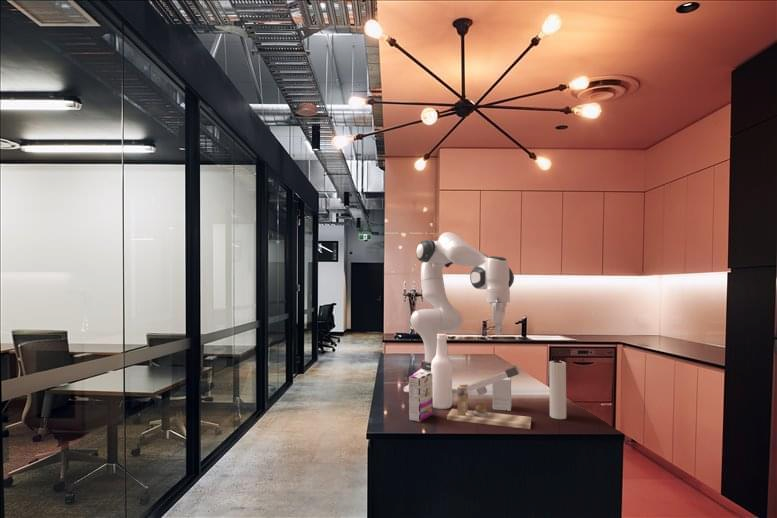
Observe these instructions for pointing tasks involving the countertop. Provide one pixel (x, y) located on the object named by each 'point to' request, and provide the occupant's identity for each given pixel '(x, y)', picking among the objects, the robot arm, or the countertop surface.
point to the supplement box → (502, 394)
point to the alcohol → (441, 375)
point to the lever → (492, 380)
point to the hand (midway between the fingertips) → (498, 333)
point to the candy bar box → (420, 396)
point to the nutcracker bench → (486, 420)
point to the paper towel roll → (557, 389)
